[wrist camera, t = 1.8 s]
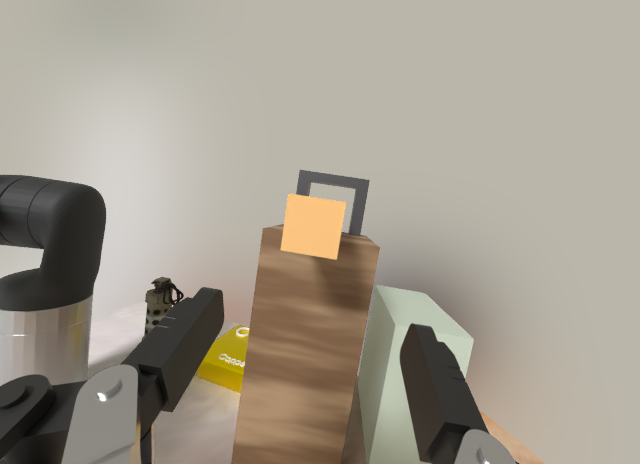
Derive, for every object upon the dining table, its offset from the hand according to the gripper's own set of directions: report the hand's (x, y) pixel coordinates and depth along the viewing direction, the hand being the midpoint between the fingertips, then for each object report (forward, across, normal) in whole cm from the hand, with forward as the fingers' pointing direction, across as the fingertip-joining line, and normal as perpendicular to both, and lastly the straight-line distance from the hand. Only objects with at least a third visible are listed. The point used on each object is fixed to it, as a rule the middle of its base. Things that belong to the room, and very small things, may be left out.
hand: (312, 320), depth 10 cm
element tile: (+25, +13, +43) cm, 51 cm away
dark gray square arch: (+24, 0, +7) cm, 25 cm away
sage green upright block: (+17, -16, +39) cm, 46 cm away
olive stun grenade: (+26, +33, +43) cm, 60 cm away
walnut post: (+8, +1, +36) cm, 37 cm away
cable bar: (+16, +1, +4) cm, 17 cm away
